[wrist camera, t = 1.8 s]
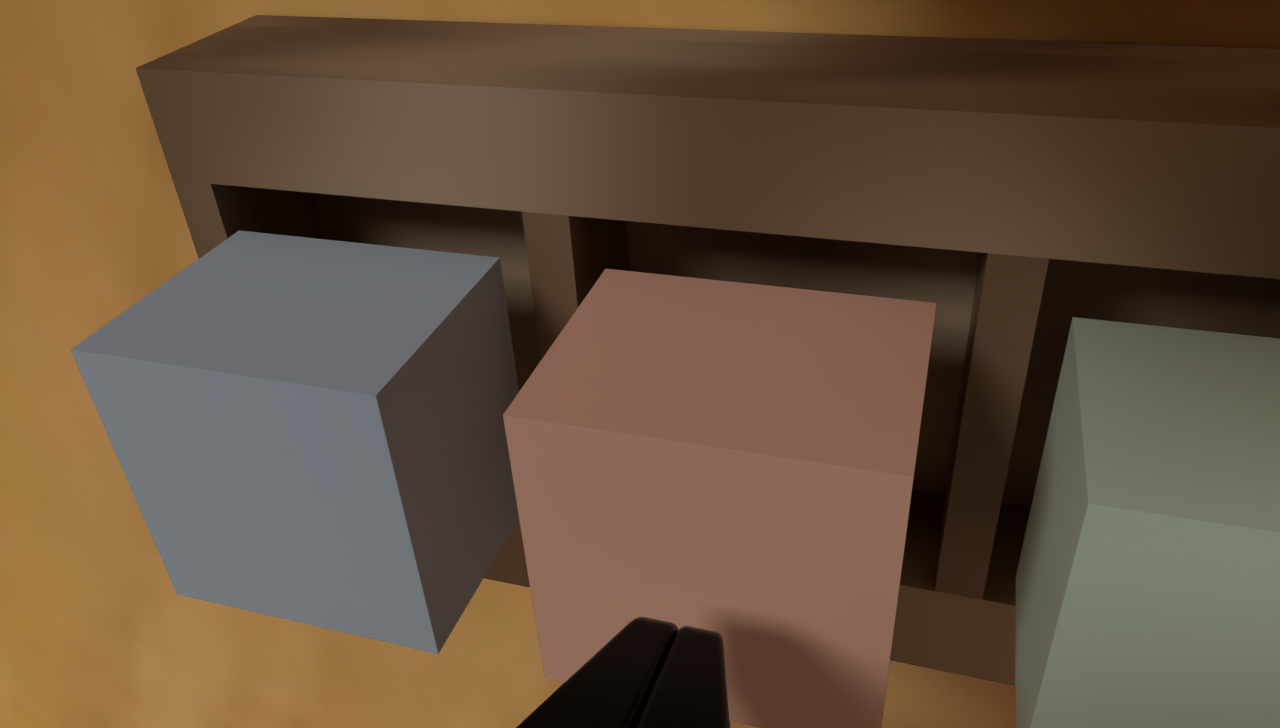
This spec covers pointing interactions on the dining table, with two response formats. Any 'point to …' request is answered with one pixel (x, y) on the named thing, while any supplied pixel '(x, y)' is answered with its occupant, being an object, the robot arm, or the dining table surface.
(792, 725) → the button terracotta
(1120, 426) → the button sage
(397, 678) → the dining table surface
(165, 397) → the button slate
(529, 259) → the brown wooden compartment tray
